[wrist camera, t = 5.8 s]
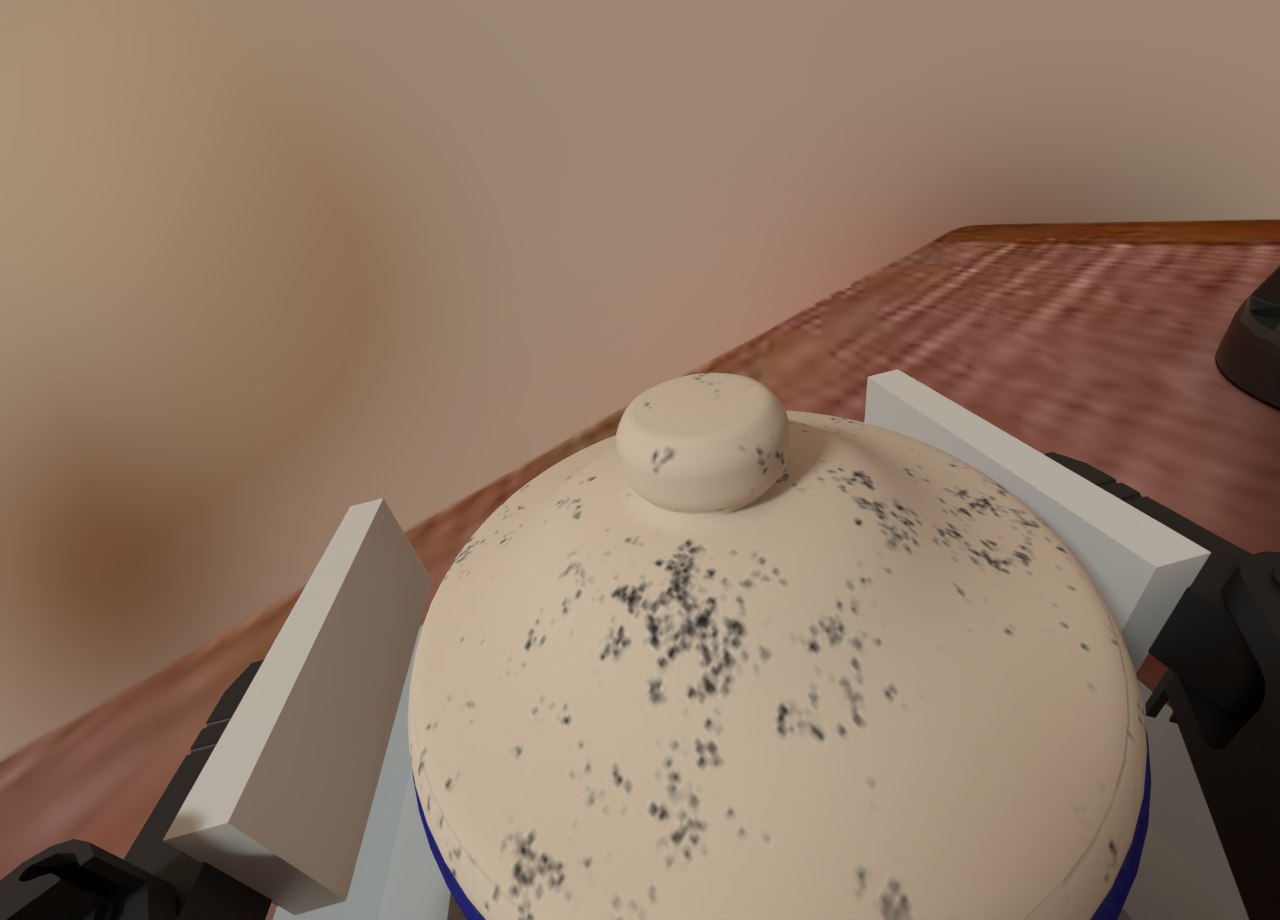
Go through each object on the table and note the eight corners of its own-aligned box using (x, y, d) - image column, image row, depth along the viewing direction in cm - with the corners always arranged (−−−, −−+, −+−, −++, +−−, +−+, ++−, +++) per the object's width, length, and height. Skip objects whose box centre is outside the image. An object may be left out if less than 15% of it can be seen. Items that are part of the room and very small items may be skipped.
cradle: (899, 484, 21) (905, 445, 20) (1443, 977, 8) (1538, 943, 7) (391, 617, 20) (367, 583, 19) (128, 1398, 7) (11, 1432, 6)
